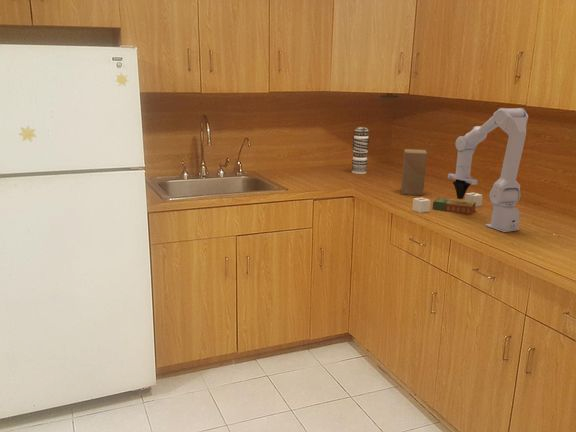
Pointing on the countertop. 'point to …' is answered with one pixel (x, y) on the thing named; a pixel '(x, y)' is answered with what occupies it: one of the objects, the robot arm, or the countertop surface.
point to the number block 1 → (421, 205)
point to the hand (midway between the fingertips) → (460, 198)
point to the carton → (454, 205)
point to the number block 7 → (474, 198)
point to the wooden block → (413, 172)
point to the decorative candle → (360, 150)
